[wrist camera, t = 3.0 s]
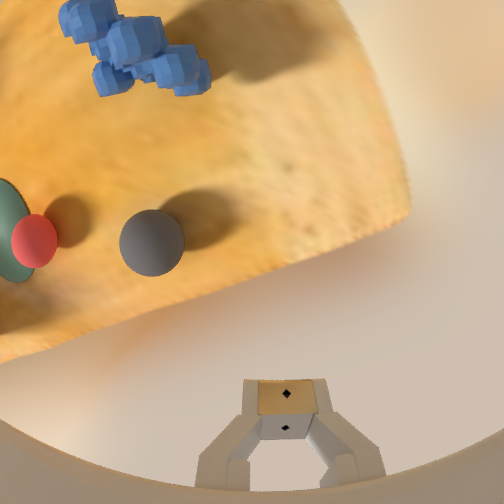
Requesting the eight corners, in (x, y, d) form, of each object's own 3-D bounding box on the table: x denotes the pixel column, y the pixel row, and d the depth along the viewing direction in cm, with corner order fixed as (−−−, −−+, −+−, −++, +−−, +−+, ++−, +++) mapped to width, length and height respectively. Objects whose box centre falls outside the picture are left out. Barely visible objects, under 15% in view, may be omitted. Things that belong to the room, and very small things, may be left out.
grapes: (91, 75, 19) (-1, 59, 8) (134, 17, 17) (63, -36, 6) (184, 137, 22) (118, 143, 11) (234, 73, 19) (214, 18, 8)
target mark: (-30, 185, 22) (-31, 186, 22) (25, 171, 22) (24, 172, 22) (-10, 277, 28) (-11, 278, 28) (48, 286, 28) (47, 286, 28)
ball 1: (29, 209, 24) (-3, 225, 19) (62, 206, 24) (29, 223, 19) (38, 254, 26) (10, 275, 21) (71, 255, 26) (42, 279, 21)
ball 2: (131, 203, 24) (103, 221, 19) (189, 202, 24) (171, 221, 19) (138, 258, 26) (115, 286, 21) (192, 260, 26) (178, 291, 21)
